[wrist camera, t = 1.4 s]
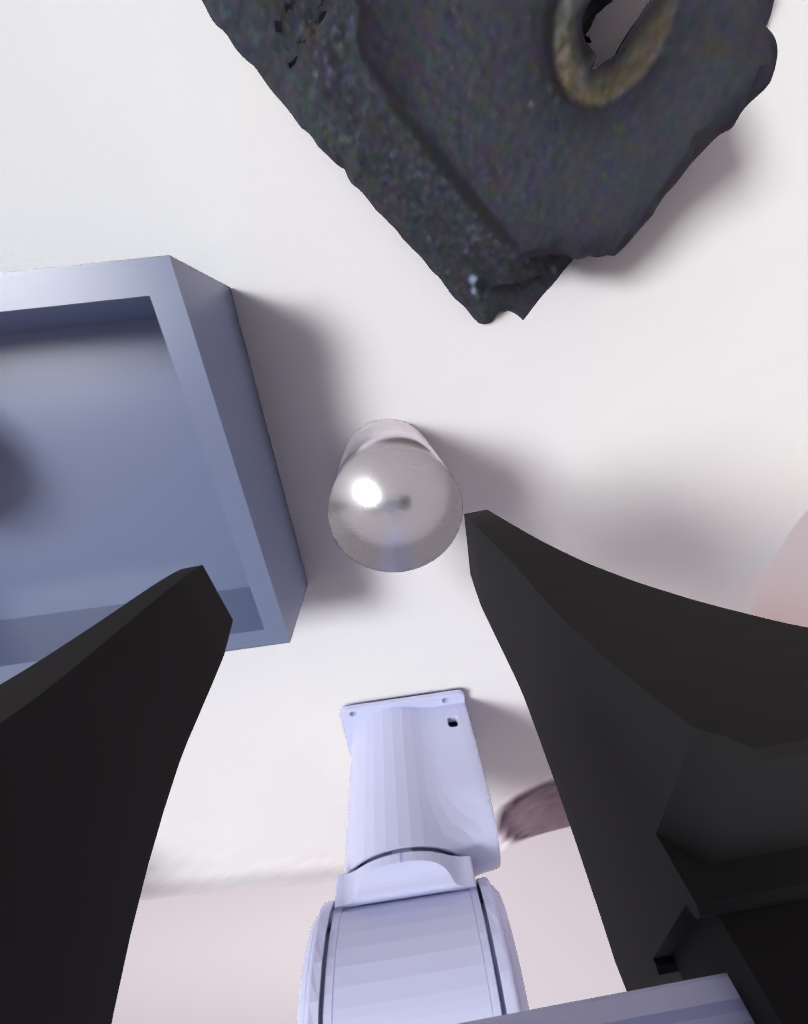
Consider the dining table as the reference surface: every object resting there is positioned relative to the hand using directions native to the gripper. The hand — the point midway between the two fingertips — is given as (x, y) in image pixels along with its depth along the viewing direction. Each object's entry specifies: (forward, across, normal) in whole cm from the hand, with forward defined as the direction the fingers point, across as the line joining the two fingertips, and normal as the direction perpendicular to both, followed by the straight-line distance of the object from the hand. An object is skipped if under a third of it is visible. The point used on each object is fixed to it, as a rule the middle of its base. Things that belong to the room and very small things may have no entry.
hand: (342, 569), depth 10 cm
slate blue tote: (+10, +15, -1) cm, 19 cm away
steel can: (+10, -2, +1) cm, 11 cm away
